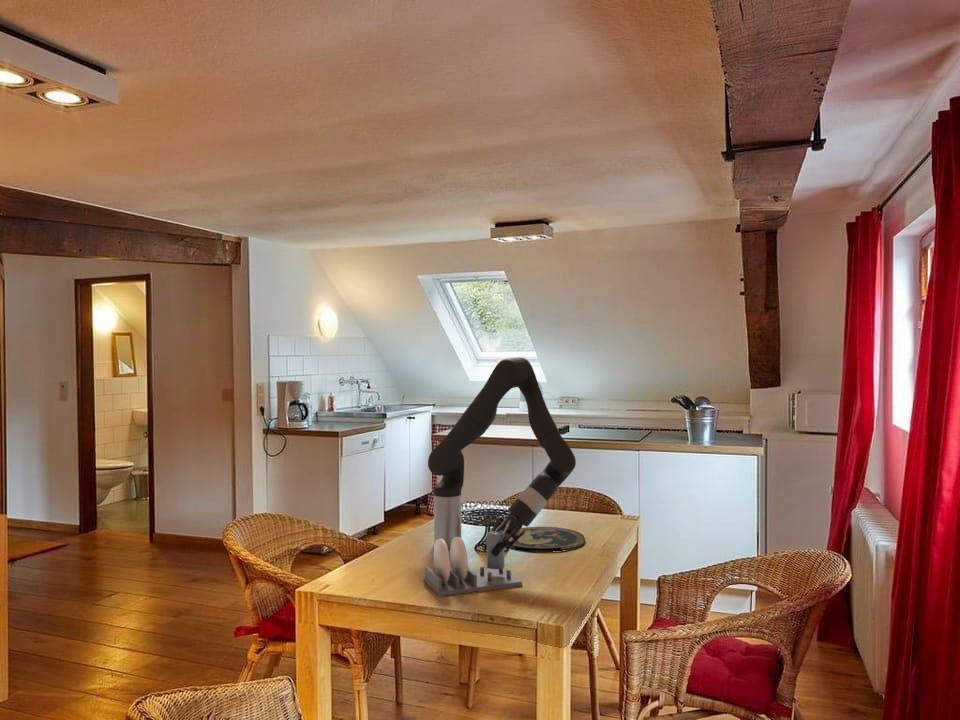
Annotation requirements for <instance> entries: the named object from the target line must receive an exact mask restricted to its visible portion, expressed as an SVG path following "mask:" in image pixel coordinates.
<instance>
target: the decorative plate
mask: <svg viewBox="0 0 960 720" xmlns="http://www.w3.org/2000/svg"><path fill="white" fill-rule="evenodd" d="M521 529H522V530H523V531H524V534H523V535H522V536H521V537H520V538H519V539H518V540H517V541H516V542H515V543H514V544H513V545H512V546H511V547H509V546H508V547H509V548H511V549H510V550H513V549H515V550H514V551H518V550H519V552H526V553H536V552H553V551H563V550H570V549H574V548H577V549H579V548H581V547H583V546H584V545H585V544H586V537H585V536H584V534H583V533H581V532H579V531H576V530H573V529H568V528H563V527H558V526H557V527H556V526H527V527H526V526H524V527H522V528H521ZM510 542H511V541H510ZM584 543H585V544H584ZM582 545H583V546H582ZM580 546H581V547H580ZM578 547H579V548H578ZM509 548H508V549H509ZM574 550H575V549H574ZM570 551H571V550H570ZM553 553H554V552H553Z"/></svg>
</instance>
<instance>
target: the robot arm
mask: <svg viewBox="0 0 960 720" xmlns="http://www.w3.org/2000/svg"><path fill="white" fill-rule="evenodd" d="M515 388H518V389H519V390H520V393H521V394H522V395H523V397H524V399H525V403H526V407H527V414H528V422H529V426H530V429H531V430H532V433H533V434H534V436H535V438H536V440H537V442H538V444H539V446H541V447H540V448H542V449H544V450H545V453H546V455H547V456H548V458H549V460H550V461H549V462H548V463H547V465H546V466H545V467H544V468H543V470H542V471H541V472H540V473H538V474H537V475H536V476H535V478H534V479H533V480H532V481H531V483H530V484H528V486H527V487H526V488H525V489H523V491H522V492H521V493H520V494H519V496H518V497H516V498H515V500H514V501H513V502H512V503H511V505H509V506H510V507H508V508H507V512H508V513H509V515H507V517H505V518H504V517H502V516H500V517H499V519H498V520H497V521H496V523H495V524H494V526H493V527H492V528H491V530H490V532H491V531H500V532H502V537H501V539H500V541H499V542H498V543H497V544H496V545H495V546H494V548H493V549H492V550H491V553H492V554H493V555H494V556H495V557H497V556H498V555H499V553H500V552H501V551H502V550H503V548H504V549H505V548H506V547H507V546H509V547H511V546H512V545H513V544H514V543H515V542H516V541H517V540H518V539H519V538H520V537H521V536H522V535H523V534H524V531H523V530H522V529H521V528H523V526H524V527H530V525H531V524H532V522H533V521H534V520H535V519H536V517H537V516H538V515H539V514H540V512H541V511H542V510H543V508H544V507H545V505H546V504H547V502H548V501H549V500H550V499H551V497H553V495H554V494H555V492H556V491H557V489H558V488H559V487H560V486H561V485H562V484H563V483H564V482H565V481H566V479H567V478H569V476H570V475H571V474H572V472H573V471H574V469H575V468H576V463H577V461H576V457H575V454H574V453H573V451H572V449H571V447H570V446H569V444H568V442H566V440H565V439H564V438H563V437H562V434H561V433H560V430H559V428H558V426H557V425H556V423H555V421H554V419H553V417H552V415H551V413H550V411H549V408H548V407H547V404H546V402H545V399H544V396H543V393H542V391H541V388H540V384H539V382H538V380H537V377H536V373H535V371H534V368H533V365H532V364H531V362H530V361H529V360H528V359H527V358H525V357H521V356H517V357H508V358H507V357H506V358H504V359H501V360H500V361H499V362H498V363H496V366H495V367H494V369H493V370H492V372H491V373H490V375H489V377H488V379H487V380H486V382H485V384H484V386H483V387H482V389H481V390H480V391H479V392H478V393H477V395H476V396H475V398H474V399H473V400H472V402H471V403H470V404H469V405H468V407H467V408H466V409H465V411H464V412H463V413H462V414H461V416H460V417H459V419H458V421H457V422H456V423H455V424H454V425H453V427H452V428H451V429H450V431H449V432H448V433H447V434H446V435H445V437H444V438H443V439H442V440H441V441H440V442H439V444H437V445H436V447H434V448H433V449H432V450H431V452H430V454H429V456H428V459H427V466H428V471H430V472H431V474H432V475H435V476H442V478H441V479H440V481H439V482H438V483H437V484H435V485H434V487H433V545H435V542H436V540H437V539H444V540H445V542H446V544H447V547H448V550H449V549H450V548H451V542H452V540H453V538H454V537H460V538H461V539H462V489H463V487H464V480H465V479H464V477H465V458H464V453H463V452H462V450H464V449H465V448H466V447H468V446H469V445H471V444H472V443H474V442H475V441H477V440H478V439H479V438H481V437H482V436H483V435H484V434H485V432H486V431H487V430H488V429H489V428H490V427H491V425H492V424H493V422H494V420H495V419H496V415H497V411H498V406H499V403H500V402H501V400H502V399H503V398H504V397H505V395H507V393H508V392H509V391H510V390H511V389H515ZM510 541H511V542H510ZM483 548H484V550H486V551H487V542H486V543H485V544H484V545H483Z"/></svg>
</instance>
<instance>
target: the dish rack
mask: <svg viewBox="0 0 960 720" xmlns="http://www.w3.org/2000/svg"><path fill="white" fill-rule="evenodd" d="M433 545H434V544H433ZM468 562H469V561H468V553H467V548H466V545H465V543H464V540H463V539H462V537H461V538H460V537H454V538H453V540H452V542H451V548H450V550H449V549H448V547H447V544H446V542H445V540H444V539H437V540H436V542H435V545H434V546H433V567H434V571H433V570H432V569H431V568H430V567H429V566H428V565H425V567H424V575H423V581H424V582H425V584H427V585H428V586H429V587H430V589H431V590H432V591H434V593H436V594H437V596H438V597H440V596H442V597H446V595H449V596H453V595H452V594H457V595H460V594H459V593H464V594H467V593H466V592H472V593H475V592H474V591H479V592H484V591H483V590H487V591H492V590H491V589H494V590H501V588H502V589H507V588H508V589H510V588H515V587H523V581H522V580H521V579H519V578H518V577H517V576H515V574H513V573H512V572H511V571H512V570H511V569H506V568H505V567H504V568H502V569H489V568H485V566H480V567H479V569H470V568H469V566H468V565H469V563H468Z"/></svg>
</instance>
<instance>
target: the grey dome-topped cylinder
mask: <svg viewBox="0 0 960 720" xmlns="http://www.w3.org/2000/svg"><path fill="white" fill-rule="evenodd" d="M501 537H502V532H500V531H496V530H495V531H491V530H490V531H488V532H486V543H487V550H486V567H487V568H489V569H502V568H504V569H505V562H506V561H505V547H504V548H503V550H502V551H501V552H500V553H499V555H498V556H497V557H495V556H494V555H493V554H492V553H491V550H492V549H493V548H494V546H495V545H496V544H497V543H498V542H499V541H500V539H501Z"/></svg>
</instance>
